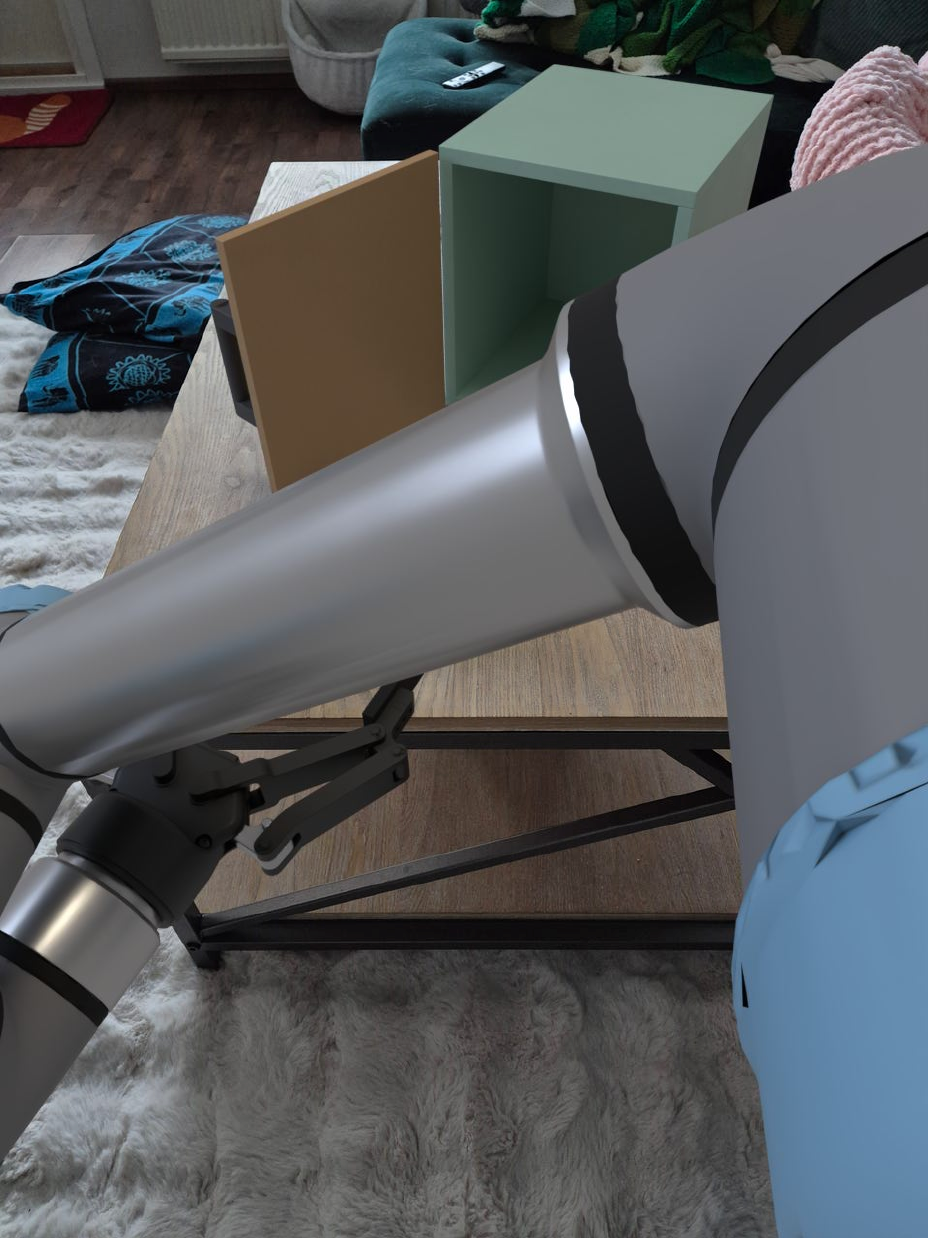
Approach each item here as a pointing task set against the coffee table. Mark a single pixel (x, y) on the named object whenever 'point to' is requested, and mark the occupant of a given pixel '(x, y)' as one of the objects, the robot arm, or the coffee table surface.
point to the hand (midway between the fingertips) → (332, 618)
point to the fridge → (577, 201)
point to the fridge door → (336, 318)
